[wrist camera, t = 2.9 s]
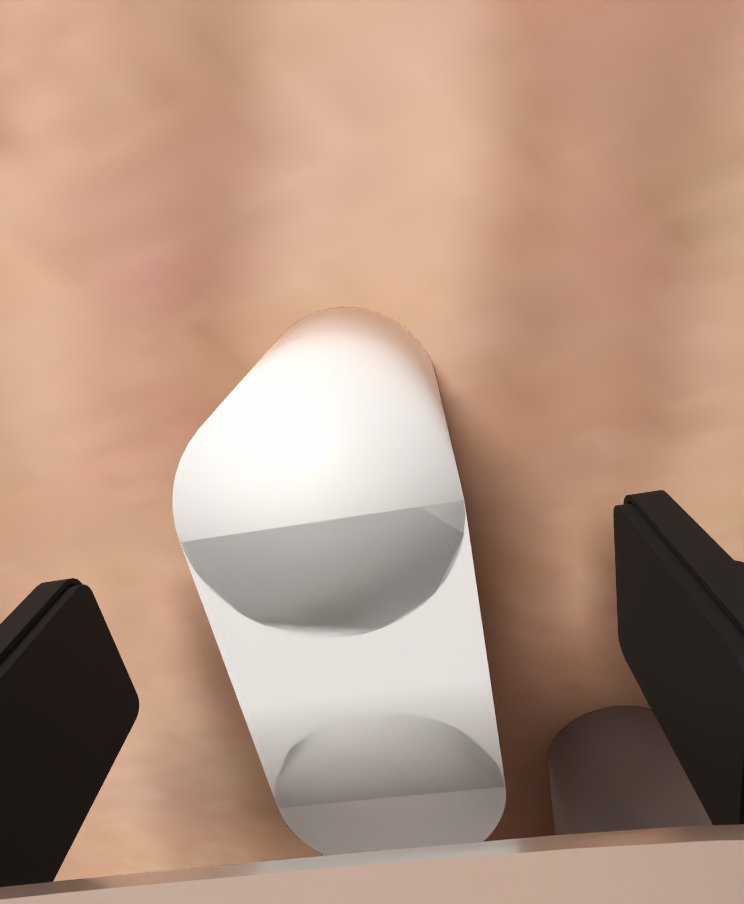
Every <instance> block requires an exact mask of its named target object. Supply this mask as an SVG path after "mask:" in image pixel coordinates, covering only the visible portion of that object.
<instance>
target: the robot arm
mask: <svg viewBox="0 0 744 904" xmlns="http://www.w3.org/2000/svg"><path fill="white" fill-rule="evenodd" d="M614 540H615V565H616V590H617V615H618V636H619V642H620V646H621V650H622V653H623V655H624V658H625V660H626V662H627V663H628V665H629V667H630V669H631V671H632V673H633V675H634V677H635V679H636V681H637V682H638V684H639V686H640V688H641V690H642V692H643V694H644V696H645V698H646V699H647V701H648V703H649V705H650V707H651V709H652V711H653V713H654V715H655V716H656V718H657V720H658V722H659V724H660V726H661V728H662V730H663V732H664V733H665V735H666V737H667V739H668V741H669V743H670V745H671V747H672V749H673V750H674V752H675V754H676V756H677V758H678V760H679V762H680V764H681V766H682V767H683V769H684V771H685V773H686V775H687V777H688V779H689V781H690V783H691V784H692V786H693V788H694V790H695V792H696V794H697V796H698V798H699V800H700V801H701V803H702V805H703V807H704V809H705V811H706V813H707V815H708V817H709V818H710V820H711V822H712V824H713V825H700V826H680V827H666V828H652V829H638V830H624V831H609V832H595V833H581V834H567V835H553V836H541V837H530V838H519V839H507V840H496V841H485V842H473V843H462V844H451V845H439V846H428V847H417V848H405V849H394V850H383V851H371V852H360V853H349V854H338V855H327V856H317V857H306V858H295V859H285V860H274V861H263V862H252V863H242V864H231V865H221V866H210V867H200V868H189V869H179V870H168V871H158V872H147V873H137V874H126V875H116V876H106V877H96V878H87V879H77V880H67V881H57V882H53V880H54V878H55V877H56V875H57V873H58V871H59V869H60V867H61V865H62V863H63V861H64V859H65V857H66V855H67V853H68V851H69V849H70V847H71V845H72V843H73V841H74V839H75V837H76V835H77V833H78V832H79V830H80V828H81V826H82V824H83V822H84V820H85V818H86V816H87V814H88V812H89V810H90V808H91V806H92V804H93V802H94V800H95V798H96V796H97V794H98V792H99V790H100V788H101V787H102V785H103V783H104V781H105V779H106V777H107V775H108V773H109V771H110V769H111V767H112V765H113V763H114V761H115V759H116V757H117V755H118V753H119V751H120V749H121V747H122V745H123V743H124V742H125V740H126V738H127V736H128V734H129V732H130V730H131V728H132V726H133V724H134V722H135V720H136V718H137V715H138V711H139V699H138V695H137V693H136V691H135V688H134V686H133V684H132V681H131V679H130V677H129V675H128V672H127V670H126V668H125V665H124V663H123V661H122V659H121V656H120V654H119V652H118V649H117V647H116V645H115V643H114V640H113V638H112V636H111V633H110V631H109V629H108V627H107V624H106V622H105V620H104V617H103V615H102V613H101V611H100V608H99V606H98V604H97V601H96V599H95V597H94V595H93V592H92V590H91V589H90V588H89V587H88V586H87V585H83V584H82V583H81V582H80V581H79V580H78V579H74V578H71V579H64V580H58V581H51V582H45V583H41V584H40V585H38V586H37V587H36V588H35V589H34V590H33V591H32V592H31V593H30V594H29V595H28V596H27V597H26V598H25V599H24V600H23V601H22V602H21V603H20V604H19V605H18V607H17V608H16V609H15V610H14V611H13V612H12V613H11V614H10V615H9V616H8V617H7V618H6V619H5V620H4V621H3V622H2V623H1V624H0V904H744V563H743V562H740V561H734V560H733V559H732V558H731V557H730V556H729V555H728V554H727V553H726V552H725V551H724V550H723V549H722V548H721V547H720V546H719V545H718V544H717V543H716V542H715V541H714V540H713V539H712V538H711V537H710V536H709V535H708V534H707V533H706V532H705V531H704V530H703V529H702V528H701V527H700V526H699V525H698V524H697V523H696V522H695V521H694V520H693V519H692V518H691V517H690V516H689V515H688V514H687V513H686V512H685V511H684V510H683V509H682V508H681V507H680V506H679V505H678V504H677V503H676V502H675V501H674V500H673V499H672V498H671V497H670V496H669V495H668V494H667V493H666V492H665V491H663V490H659V491H652V492H645V493H639V494H632V495H627V496H626V497H625V499H624V505H617V506H615V507H614Z"/></svg>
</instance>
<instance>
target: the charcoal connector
mask: <svg viewBox="0 0 744 904" xmlns="http://www.w3.org/2000/svg"><path fill="white" fill-rule="evenodd" d="M548 769H549V779H550V789H551V799H552V809H553V818H554V828H555V835H567V834H581V833H595V832H609V831H624V830H638V829H652V828H666V827H680V826H700V825H713V824H712V822H711V820H710V818H709V817H708V815H707V813H706V811H705V809H704V807H703V805H702V803H701V801H700V800H699V798H698V796H697V794H696V792H695V790H694V788H693V786H692V784H691V783H690V781H689V779H688V777H687V775H686V773H685V771H684V769H683V767H682V766H681V764H680V762H679V760H678V758H677V756H676V754H675V752H674V750H673V749H672V747H671V745H670V743H669V741H668V739H667V737H666V735H665V733H664V732H663V730H662V728H661V726H660V724H659V722H658V720H657V718H656V716H655V715H654V713H653V711H652V710H651V709H647V708H642V707H635V706H617V707H609V708H604V709H600V710H596V711H593V712H590V713H587V714H585V715H583V716H581V717H579V718H577V719H576V720H574V721H572V722H571V723H570V724H568V725H567V726H566V727H565V728H564V729H563V730H561V731H560V732H559V734H558V735H557V736H556V738H555V739H554V741H553V743H552V744H551V747H550V750H549V754H548Z"/></svg>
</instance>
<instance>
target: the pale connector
mask: <svg viewBox="0 0 744 904" xmlns="http://www.w3.org/2000/svg"><path fill="white" fill-rule="evenodd" d="M173 515H174V522H175V527H176V531H177V534H178V538H179V541H180V544H181V547H182V549H183V552H184V555H185V558H186V560H187V563H188V566H189V568H190V571H191V574H192V577H193V579H194V582H195V585H196V587H197V590H198V593H199V596H200V598H201V601H202V604H203V606H204V609H205V612H206V615H207V617H208V620H209V623H210V625H211V628H212V631H213V633H214V636H215V639H216V642H217V644H218V647H219V650H220V652H221V655H222V658H223V661H224V663H225V666H226V669H227V671H228V674H229V677H230V680H231V682H232V685H233V688H234V690H235V693H236V696H237V699H238V701H239V704H240V707H241V709H242V712H243V715H244V717H245V720H246V723H247V726H248V728H249V731H250V734H251V736H252V739H253V742H254V745H255V747H256V750H257V753H258V755H259V758H260V761H261V764H262V766H263V769H264V772H265V774H266V777H267V780H268V783H269V785H270V788H271V791H272V793H273V796H274V799H275V802H276V804H277V807H278V809H279V812H280V814H281V816H282V818H283V819H284V821H285V822H286V824H287V825H288V827H289V828H290V829H291V830H292V831H293V833H294V834H295V835H296V836H297V837H298V838H300V839H301V840H302V841H303V842H304V843H305V844H307V845H308V846H310V847H311V848H313V849H314V850H316V851H317V852H319V853H321V854H323V855H325V856H327V855H338V854H349V853H360V852H371V851H383V850H394V849H405V848H417V847H428V846H439V845H451V844H462V843H473V842H483V841H484V840H485V839H486V838H487V837H489V835H490V834H491V833H492V832H493V830H494V829H495V828H496V826H497V824H498V823H499V821H500V819H501V817H502V814H503V811H504V808H505V802H506V786H505V779H504V772H503V765H502V758H501V751H500V744H499V737H498V731H497V724H496V717H495V710H494V703H493V696H492V689H491V682H490V675H489V668H488V661H487V654H486V647H485V641H484V634H483V627H482V620H481V613H480V606H479V599H478V592H477V585H476V578H475V571H474V564H473V558H472V551H471V544H470V537H469V530H468V523H467V516H466V509H465V502H464V497H463V492H462V488H461V483H460V479H459V475H458V470H457V466H456V462H455V457H454V453H453V449H452V445H451V440H450V436H449V432H448V427H447V423H446V419H445V414H444V410H443V406H442V401H441V397H440V393H439V389H438V384H437V380H436V376H435V371H434V369H433V366H432V363H431V360H430V359H429V357H428V355H427V353H426V351H425V349H424V348H423V347H422V345H421V344H420V342H419V341H418V340H417V339H416V338H415V337H414V336H413V335H412V334H411V332H410V331H408V330H407V329H406V328H405V327H403V326H402V325H401V324H399V323H398V322H396V321H395V320H393V319H391V318H390V317H387V316H385V315H383V314H380V313H378V312H375V311H371V310H368V309H362V308H355V307H339V308H330V309H326V310H322V311H318V312H316V313H313V314H311V315H308V316H306V317H304V318H303V319H301V320H299V321H298V322H296V323H295V324H293V325H292V326H291V327H290V328H288V329H287V330H286V331H285V332H284V333H283V334H282V335H281V336H280V337H279V338H278V340H277V341H276V342H275V343H274V344H273V345H272V346H271V348H270V349H269V350H268V351H267V352H266V353H265V354H264V356H263V357H262V358H261V359H260V360H259V361H258V362H257V364H256V365H255V366H254V367H253V368H252V369H251V370H250V371H249V373H248V374H247V375H246V376H245V377H244V378H243V379H242V381H241V382H240V383H239V384H238V385H237V386H236V387H235V389H234V390H233V391H232V392H231V393H230V394H229V395H228V397H227V398H226V399H225V400H224V401H223V402H222V403H221V404H220V406H219V407H218V408H217V409H216V410H215V411H214V412H213V414H212V415H211V416H210V417H209V418H208V419H207V420H206V422H205V423H204V424H203V425H202V426H201V427H200V428H199V430H198V431H197V432H196V434H195V435H194V437H193V438H192V439H191V441H190V442H189V444H188V446H187V448H186V450H185V452H184V454H183V456H182V458H181V460H180V463H179V466H178V469H177V472H176V476H175V482H174V488H173Z"/></svg>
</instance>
